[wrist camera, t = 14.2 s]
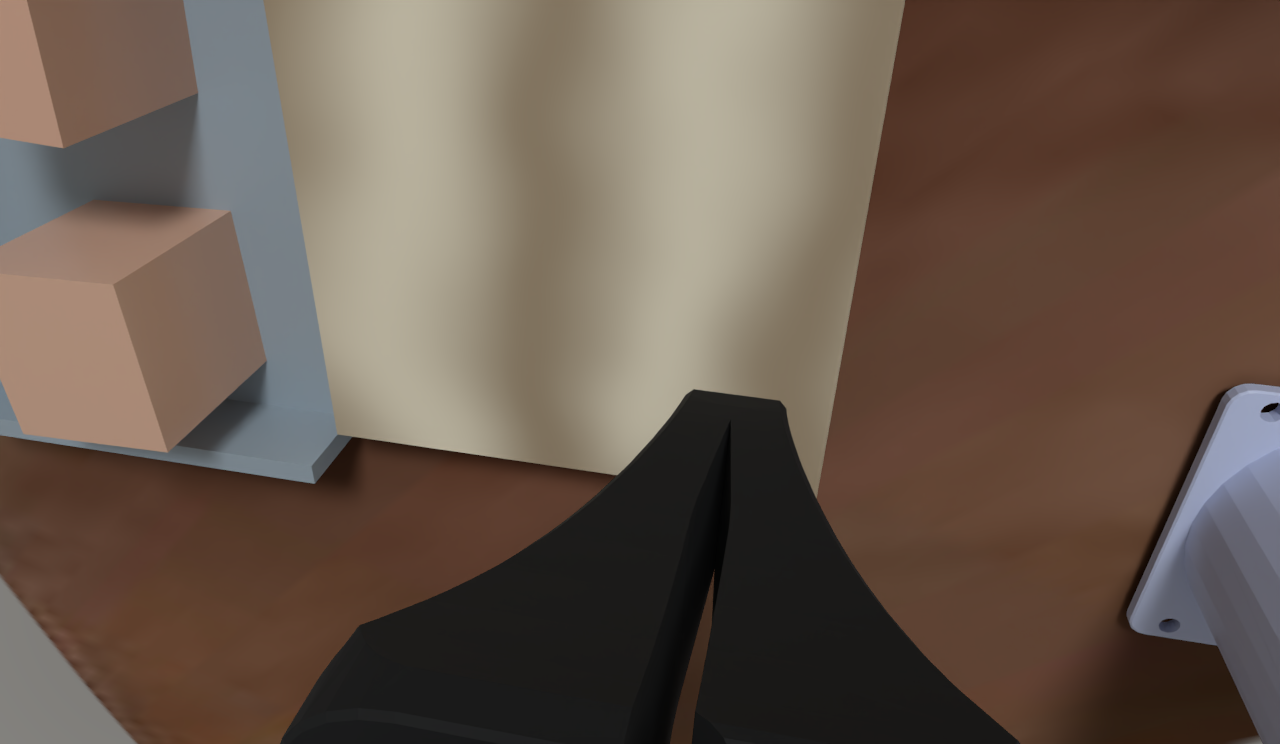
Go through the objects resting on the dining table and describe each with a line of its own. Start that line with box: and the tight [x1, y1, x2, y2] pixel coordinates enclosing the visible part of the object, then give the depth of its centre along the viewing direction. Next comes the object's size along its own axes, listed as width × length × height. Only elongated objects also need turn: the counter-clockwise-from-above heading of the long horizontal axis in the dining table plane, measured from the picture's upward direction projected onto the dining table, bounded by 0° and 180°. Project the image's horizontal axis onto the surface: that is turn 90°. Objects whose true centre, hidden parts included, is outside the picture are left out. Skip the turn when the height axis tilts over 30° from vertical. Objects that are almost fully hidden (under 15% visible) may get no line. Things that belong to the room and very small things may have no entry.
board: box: [263, 0, 905, 498], centre depth 21 cm, size 13×14×2 cm
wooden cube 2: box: [0, 200, 267, 453], centre depth 23 cm, size 4×4×4 cm
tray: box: [0, 0, 352, 484], centre depth 22 cm, size 12×16×3 cm
